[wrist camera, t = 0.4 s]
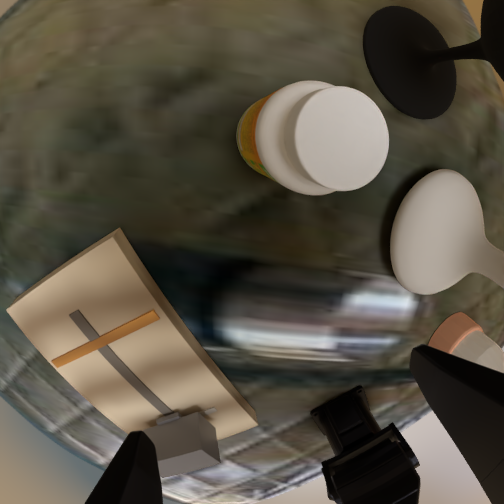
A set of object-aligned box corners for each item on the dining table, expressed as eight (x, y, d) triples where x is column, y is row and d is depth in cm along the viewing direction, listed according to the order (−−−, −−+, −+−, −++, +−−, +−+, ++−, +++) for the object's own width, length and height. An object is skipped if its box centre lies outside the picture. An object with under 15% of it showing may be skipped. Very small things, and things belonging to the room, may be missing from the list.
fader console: (254, 410, 28) (258, 426, 26) (160, 443, 28) (160, 458, 26) (119, 227, 19) (111, 237, 17) (16, 297, 19) (5, 311, 17)
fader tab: (216, 425, 24) (222, 464, 20) (164, 441, 24) (164, 478, 20) (195, 405, 23) (199, 447, 19) (141, 424, 23) (138, 463, 19)
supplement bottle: (227, 167, 19) (258, 194, 10) (245, 88, 17) (292, 47, 8) (304, 183, 20) (384, 222, 11) (321, 110, 19) (413, 99, 10)
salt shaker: (469, 330, 31) (557, 414, 14) (433, 367, 32) (514, 463, 15) (461, 301, 29) (570, 395, 11) (419, 344, 29) (519, 457, 12)
